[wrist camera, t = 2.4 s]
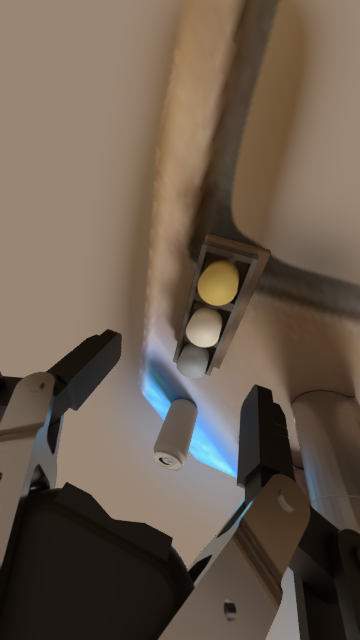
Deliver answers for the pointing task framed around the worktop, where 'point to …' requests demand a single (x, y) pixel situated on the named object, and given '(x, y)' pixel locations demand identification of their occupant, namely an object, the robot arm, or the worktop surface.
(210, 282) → the button mustard
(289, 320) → the worktop surface
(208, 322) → the button cream
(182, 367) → the button slate
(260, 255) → the wooden compartment tray
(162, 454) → the beverage can
